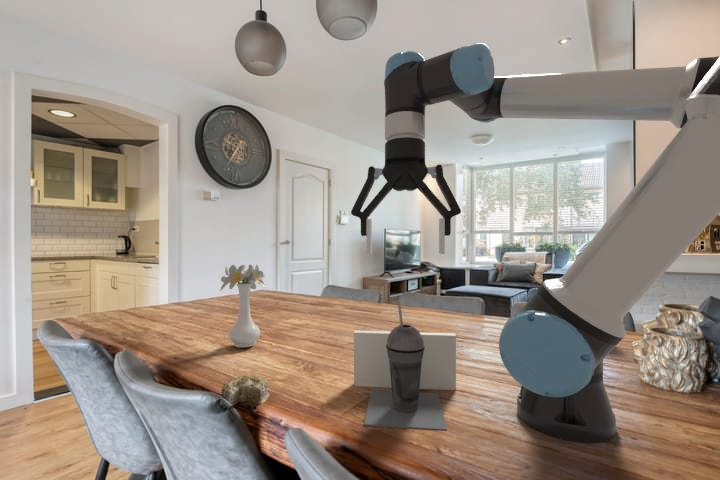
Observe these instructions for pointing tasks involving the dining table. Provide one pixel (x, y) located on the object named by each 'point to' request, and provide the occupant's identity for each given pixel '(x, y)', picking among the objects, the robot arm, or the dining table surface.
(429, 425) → the mat
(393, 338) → the beverage cup
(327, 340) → the dining table surface
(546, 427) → the robot arm
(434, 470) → the dining table surface
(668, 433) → the dining table surface
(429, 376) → the screen
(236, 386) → the cake
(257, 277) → the flower vase
